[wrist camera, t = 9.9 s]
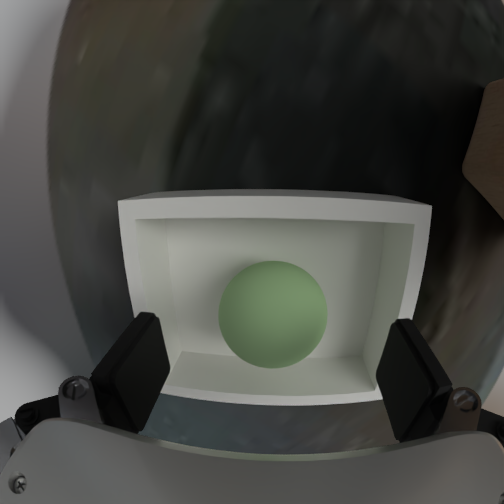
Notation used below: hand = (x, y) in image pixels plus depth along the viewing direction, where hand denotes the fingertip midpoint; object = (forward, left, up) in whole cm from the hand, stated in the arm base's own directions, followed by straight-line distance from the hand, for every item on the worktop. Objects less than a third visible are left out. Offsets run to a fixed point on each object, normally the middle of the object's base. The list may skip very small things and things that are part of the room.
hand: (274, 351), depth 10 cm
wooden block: (-10, +20, -9) cm, 24 cm away
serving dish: (+1, 0, -9) cm, 9 cm away
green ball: (+1, 0, -8) cm, 8 cm away
